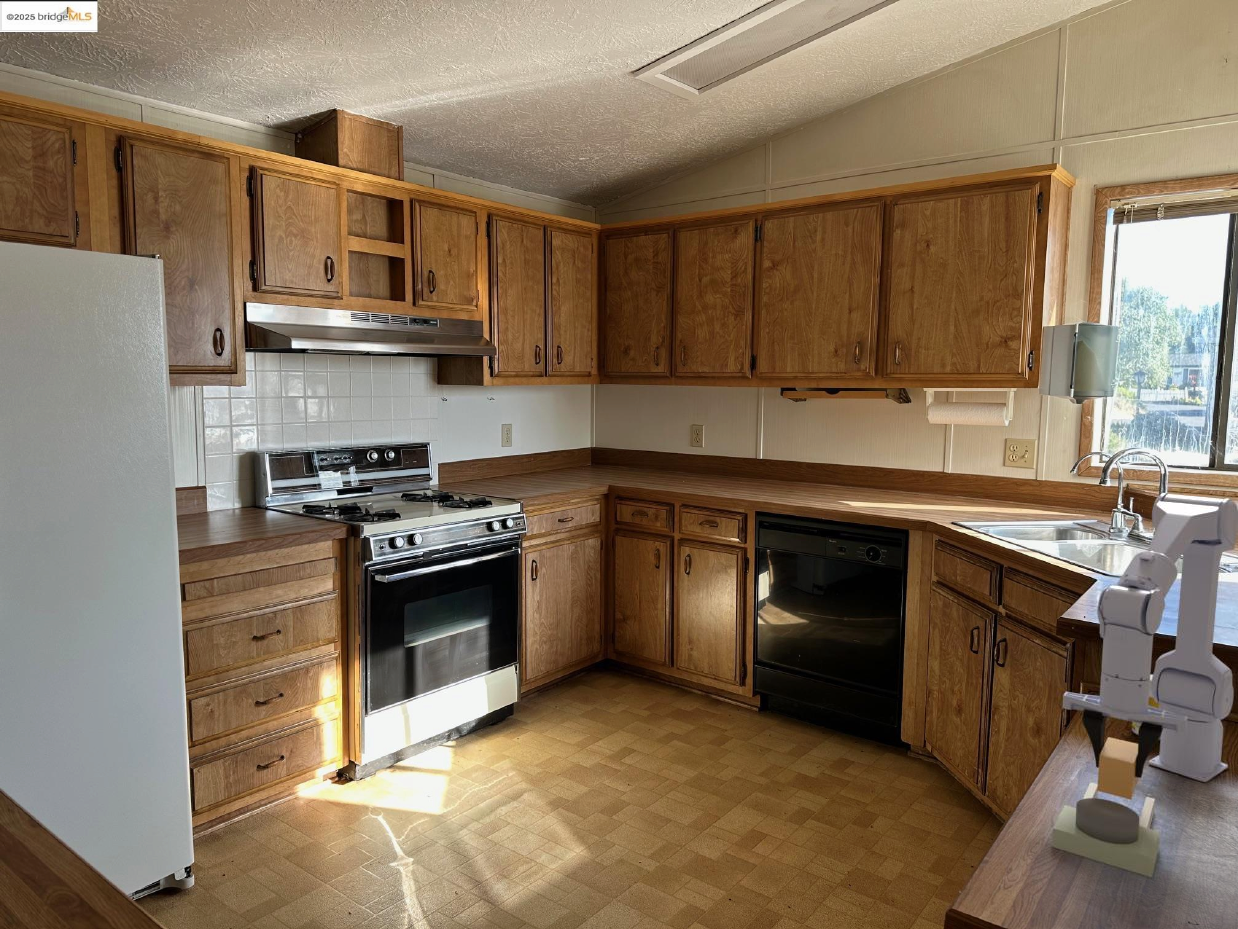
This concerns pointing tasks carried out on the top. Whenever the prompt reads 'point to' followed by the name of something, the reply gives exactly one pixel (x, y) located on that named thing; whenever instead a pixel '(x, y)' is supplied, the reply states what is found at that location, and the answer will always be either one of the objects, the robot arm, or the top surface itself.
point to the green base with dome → (1109, 833)
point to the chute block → (1118, 768)
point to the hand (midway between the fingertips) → (1119, 770)
